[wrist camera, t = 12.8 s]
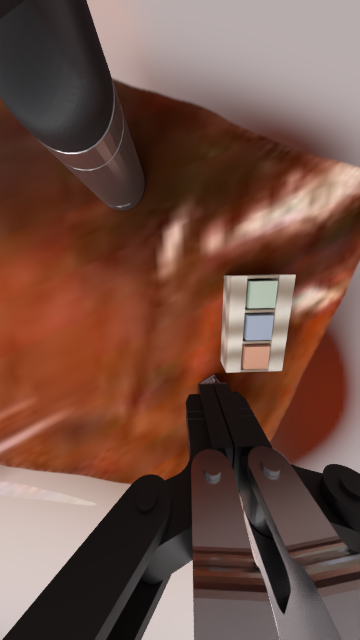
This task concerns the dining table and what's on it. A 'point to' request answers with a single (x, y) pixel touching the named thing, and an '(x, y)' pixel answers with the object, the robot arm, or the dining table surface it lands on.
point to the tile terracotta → (255, 356)
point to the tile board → (236, 312)
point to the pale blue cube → (258, 326)
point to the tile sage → (261, 293)
